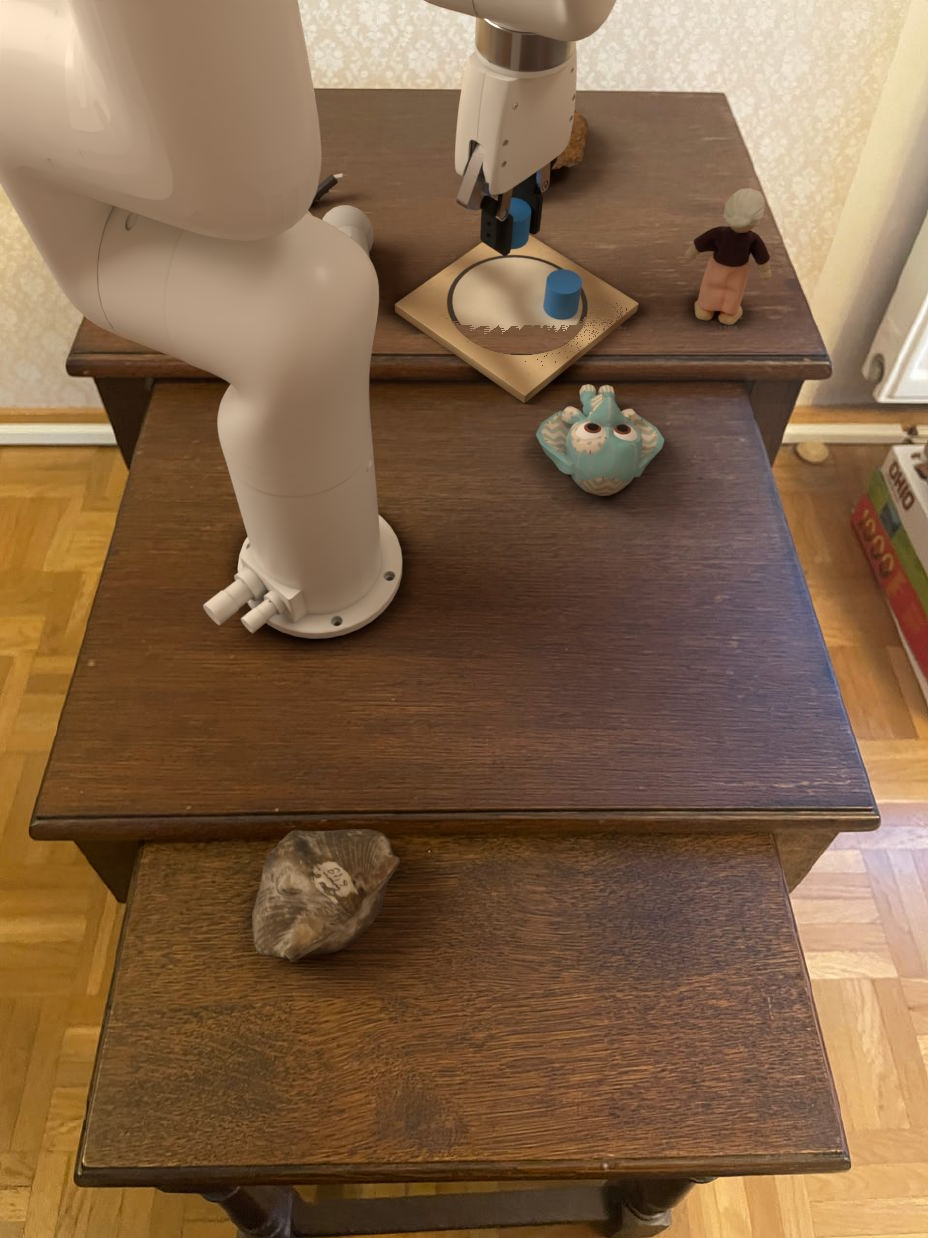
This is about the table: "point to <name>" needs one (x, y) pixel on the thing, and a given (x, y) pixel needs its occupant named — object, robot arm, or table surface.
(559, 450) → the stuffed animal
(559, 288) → the eye peg
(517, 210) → the eye peg
